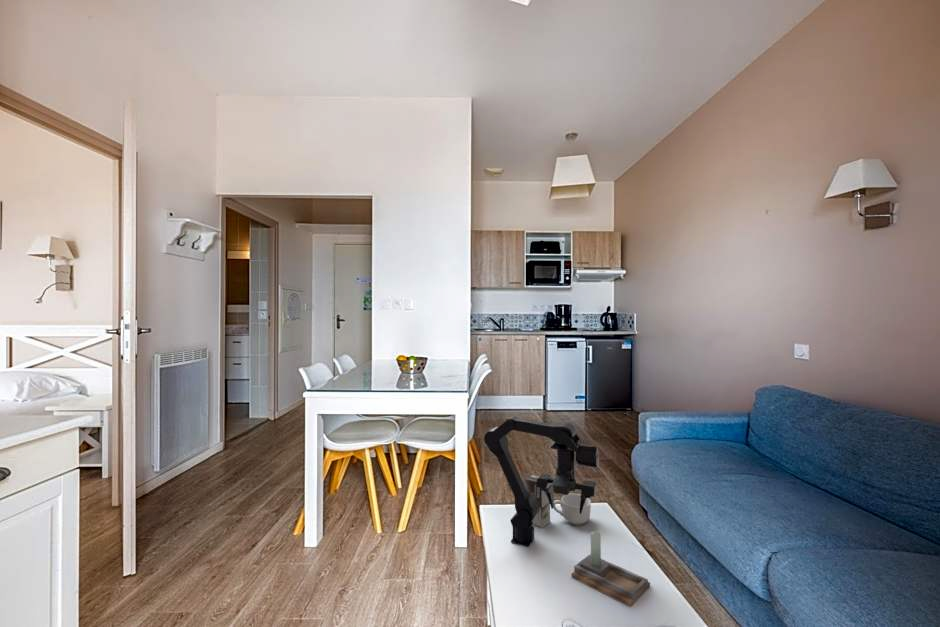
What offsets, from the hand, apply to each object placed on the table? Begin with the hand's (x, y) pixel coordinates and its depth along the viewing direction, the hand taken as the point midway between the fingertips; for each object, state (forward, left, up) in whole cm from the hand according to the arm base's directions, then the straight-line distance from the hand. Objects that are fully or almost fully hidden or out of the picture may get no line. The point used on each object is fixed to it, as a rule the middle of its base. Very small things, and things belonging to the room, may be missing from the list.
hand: (566, 510), depth 140 cm
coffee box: (-15, +15, -13) cm, 25 cm away
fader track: (+15, -11, -13) cm, 23 cm away
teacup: (-3, +21, -13) cm, 25 cm away
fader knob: (+11, -9, -12) cm, 18 cm away
